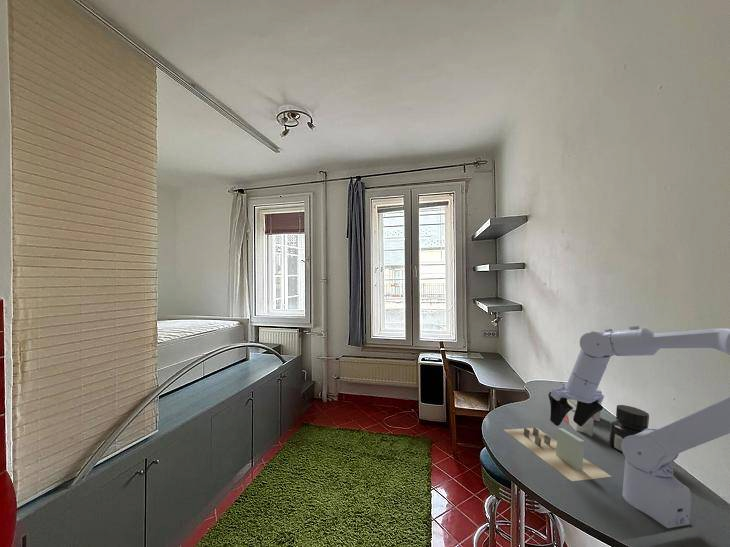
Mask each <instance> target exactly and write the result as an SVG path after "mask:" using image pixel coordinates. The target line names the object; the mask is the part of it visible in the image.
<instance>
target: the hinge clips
mask: <svg viewBox="0 0 730 547" xmlns="http://www.w3.org/2000/svg"><path fill="white" fill-rule="evenodd" d="M532 428H533V435H534V436H535V443H536V444H537V445H538V446H541V438H540V437H538V434H539V430H540V429H539V428H538V429H539V430H538V429H536V428H537V427H532ZM523 429H524V436H526V437H527V438H529V433H530V431H529V430H528V429H526V427H524V428H523ZM547 435H548V434H547ZM547 435H545V436H544V442H545V443H546V444H547V445H550V439H551V438H550V437H551V436H550V437H548V436H547Z"/></svg>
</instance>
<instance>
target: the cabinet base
mask: <svg viewBox="0 0 730 547" xmlns="http://www.w3.org/2000/svg"><path fill="white" fill-rule="evenodd" d="M525 428H526V427H525ZM533 428H534V427H531V428H529V427H527V428H526V429H528V430H529V431H530V433H529V438H527V437H526V436H524V428H513V429H512V428H511V429H510V428H509V429H508V428H507V429H504V431H505V432H506V433H507V434H509V436H511V437H513V438H514V439H515V440H517V441H518V442H519V443H520V444H521V445H523V446H524V447H526V448H527V449H528V450H529V451H531V452H532V453H533V454H535V455H536V456H537V457H538V458H540V459H542V460H543V461H544V462H545V463H547V464H548V465H549V466H551V467H552V468H553V469H554V470H556V471H557V472H558V473H560V474H561V475H562V476H564V477H565V478H566V479H568V480H569V481H571V482H579V481H588V480H589V481H590V480H599V479H605V478H613V476H612V475H611V474H608V472H606V471H604V470H602V469H601V468H599V467H598V466H597V465H595V464H593V463H591V462H590V461H589V460H587V459H586V458H584V457H583V470H578V471H577V470H576V469H575V468H573V467H572V466H570V465H569V464H568V463H566V462H565V461H563V460H562V459H560V458H559V457H558V456H556V447H557V439H554V438H553V437H552V436H550V435H549V434H548V433H545V432H543V431H542V429H539V428H538V427H535V428H536V429H538V430H539V434H538V437H540V438H541V446H538V445H537V444H536V443H535V436H534V435H533ZM545 435H547V436H548V437H550V438H551V439H550V445H547V444H546V443H545V442H544V436H545Z"/></svg>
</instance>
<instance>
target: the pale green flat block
mask: <svg viewBox="0 0 730 547" xmlns="http://www.w3.org/2000/svg"><path fill="white" fill-rule="evenodd" d="M556 435H557V436H556V438H557V439H556V441H557V447H556V456H558V457H559V458H560V459H562V460H563V461H565V462H566V463H568V464H569V465H570V466H572V467H573V468H575V469H576V470H577V471H578V470H583V458H584V455H585V443H586V442H585V440H584V439H582V438H580V437H579V436H577V435H575V434H574V433H572V432H569V431H568V430H566V429H565V428H562V427H560V428H557V434H556Z"/></svg>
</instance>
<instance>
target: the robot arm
mask: <svg viewBox="0 0 730 547" xmlns="http://www.w3.org/2000/svg"><path fill="white" fill-rule="evenodd" d="M579 338H580V339H579V346H580V351H579V354H578V355H577V359H576V360H575V363H574V365H573V368H572V370H571V373H570V375H569V378H568V380H567V382H563V383H562V386H560V387H556V388H553V389H552V390H551V391H549V392H548V394H547V395H548V399H549V403H550V419H549V421H550V422H551V423H552V424H553V425H555V426H556V427H559V426H560V425H561V424H562V422H563V421H564V417H565V415H566V414H567V413H568V412H569V411H570V410H572V409H573V407H572V406H570V405H569V404H568V402H567V399H571V400H577V407H576V411H575V414H574V418H573V421H574V422H576V423H577V424H578V425H579V426H583V425H584V424H585V423H586V422H587V420H588V419H589V418H590V417H592V416H593V415H594V414H595V413H597V412H599V411H600V412H601V411H603V409H604V406H603V405H602V404H601V405H600V404H599V403H598V402H601V403H603V400H604V398H605V395H604V394H601V393H599V392H598V391H596V390H597V388H598V387H599V385H600V384H601V380H602V378H603V376H604V373H605V371H606V369H607V365H608V364H609V361H610V359H611V357H612V356H613V357H614V356H616V357H628V356H629V357H630V356H633V357H634V356H635V357H636V356H638V357H639V356H640V357H641V356H654V355H655V354H657V352H658V351H659V350H661V349H714V350H717V351H720V352H722V353H725V354H727V355H730V327H729V328H728V327H723V328H720V327H719V328H707V329H706V328H705V329H695V330H694V329H693V330H685V331H684V330H681V331H672V332H661V333H656V332H653V331H652V330H650V329H648V328H646V327H641V328H640V326H639V325H633V326H632V325H631V326H628V329H617V330H613V329H611V328H605V329H604V331H590V332H586V333H583V334H582V335H581V337H579ZM729 434H730V396H728V397H726V398H724V399H721V400H719V401H717V402H715V403H713V404H711V405H708V406H706V407H704V408H702V409H699V410H697V411H695V412H693V413H691V414H689V415H686V416H684V417H682V418H680V419H678V420H676V421H673V422H671V423H668V424H667V425H664V426H662V427H659V428H650V427H649V428H647V429H645V430H643V431H642V432H640V433H637V434H635V435H630V436H627V437H625V438H624V439H623V440H622V443H621V448H622V452H623V454H622V455H623V456H624V457H625V458H624V469H623V470H624V471H623V472H624V473H623V480H622V482H623V483H622V484H623V485H622V498H623V499H624V500H625V502H626V503H628V504H629V505H630V506H632V507H633V508H635V509H637V510H638V511H640V512H642V513H643V514H646V515H647V516H649V517H650V518H652V519H653V520H655V521H656V522H657V523H660V524H661V525H662V526H664V527H665V528H667V529H672V528H678V527H682V526H689V525H690V522H691V508H692V493H691V489H690V488H689V487H688V486H687V485H685V484H683V482H681V481H679V480H678V479H677V477H675V475H674V470H673V467H672V464H671V462H673V461H675V460H676V459H678V456H679V455H680V454H681V453H683V452H686V451H689V450H690V449H692V448H696V447H698V446H701V445H703V444H706V443H710V442H712V441H713V440H716V439H718V438H719V439H720V438H722V437H724V436H726V435H729ZM691 528H692V526H689V527H683V528H679V529H673V530H668V531H666V533H670V532H676V531H681V530H686V529H691Z"/></svg>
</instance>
